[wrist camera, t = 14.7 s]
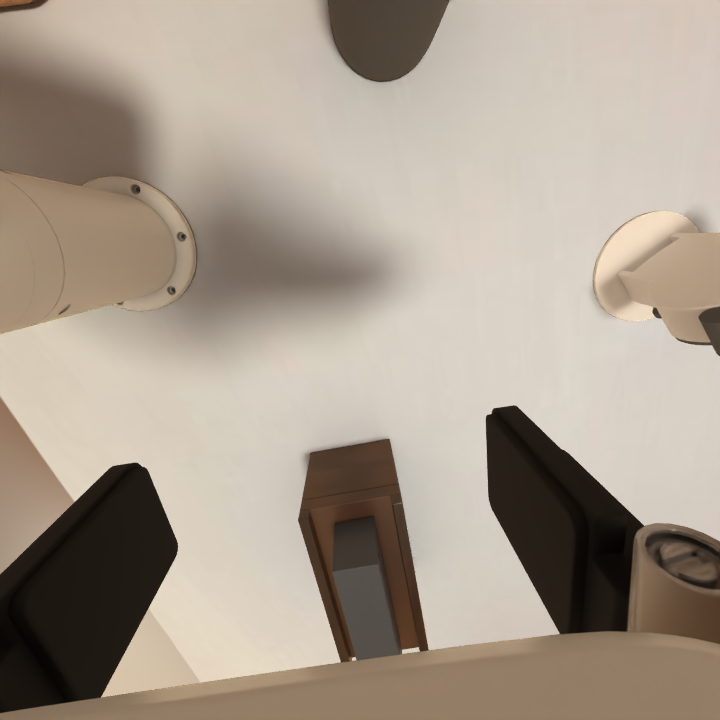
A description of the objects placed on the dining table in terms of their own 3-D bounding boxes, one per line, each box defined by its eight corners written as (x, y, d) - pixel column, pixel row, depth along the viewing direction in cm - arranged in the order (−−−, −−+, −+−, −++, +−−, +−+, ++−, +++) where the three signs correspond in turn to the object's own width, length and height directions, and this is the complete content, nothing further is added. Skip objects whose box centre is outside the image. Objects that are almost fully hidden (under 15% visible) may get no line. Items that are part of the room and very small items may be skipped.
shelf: (344, 581, 51) (343, 670, 40) (310, 452, 44) (298, 520, 33) (413, 570, 51) (429, 657, 40) (389, 438, 44) (402, 502, 33)
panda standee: (616, 344, 40) (761, 400, 26) (568, 265, 37) (703, 281, 23) (716, 275, 38) (934, 296, 24) (674, 186, 35) (894, 149, 21)
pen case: (365, 644, 41) (368, 703, 35) (333, 522, 35) (331, 572, 30) (400, 638, 41) (408, 697, 35) (374, 515, 35) (379, 564, 30)
